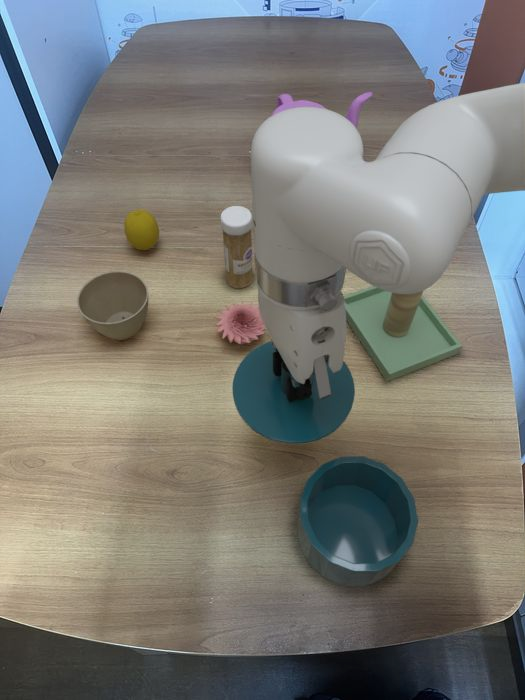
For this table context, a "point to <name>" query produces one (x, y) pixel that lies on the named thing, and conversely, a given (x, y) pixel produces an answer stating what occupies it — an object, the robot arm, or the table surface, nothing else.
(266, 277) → the robot arm
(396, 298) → the stick
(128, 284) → the bowl
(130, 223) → the lemon
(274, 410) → the pot lid
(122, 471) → the table surface
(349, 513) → the pot
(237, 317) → the flower
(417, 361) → the tray
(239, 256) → the sprinkles bottle
